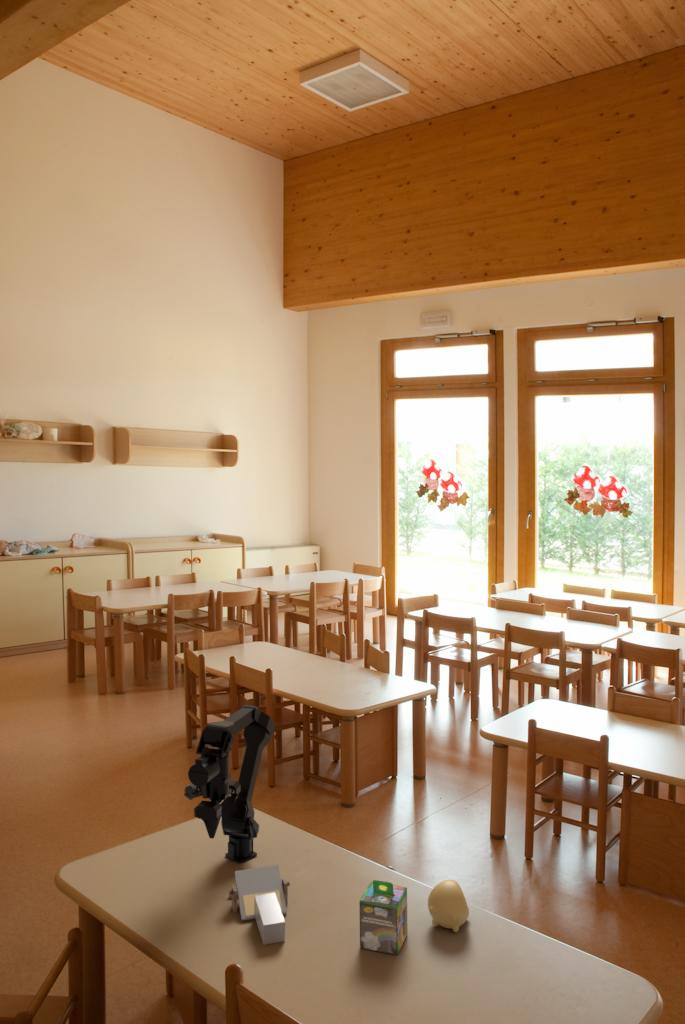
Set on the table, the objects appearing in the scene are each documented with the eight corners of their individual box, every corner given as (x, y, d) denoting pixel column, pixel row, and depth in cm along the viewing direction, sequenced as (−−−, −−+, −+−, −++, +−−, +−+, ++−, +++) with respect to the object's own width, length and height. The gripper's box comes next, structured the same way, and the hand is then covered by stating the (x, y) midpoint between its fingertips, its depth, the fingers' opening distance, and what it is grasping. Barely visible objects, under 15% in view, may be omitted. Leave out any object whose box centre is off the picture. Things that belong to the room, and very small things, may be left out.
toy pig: (468, 943, 198) (479, 899, 204) (459, 924, 190) (471, 879, 197) (429, 931, 202) (441, 888, 209) (418, 912, 194) (431, 868, 201)
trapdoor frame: (225, 896, 211) (225, 875, 211) (283, 888, 216) (283, 867, 215) (230, 913, 204) (230, 891, 203) (290, 904, 208) (290, 882, 208)
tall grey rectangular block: (254, 895, 200) (263, 925, 190) (274, 892, 202) (285, 921, 192) (254, 914, 201) (263, 944, 191) (274, 911, 203) (284, 941, 192)
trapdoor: (233, 879, 211) (234, 870, 209) (276, 872, 214) (278, 864, 212) (240, 926, 202) (242, 918, 200) (284, 919, 206) (287, 911, 203)
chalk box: (408, 934, 195) (408, 873, 194) (397, 956, 187) (398, 892, 186) (370, 926, 198) (370, 866, 197) (358, 948, 190) (358, 885, 189)
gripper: (202, 757, 229) (203, 812, 231) (174, 783, 211) (174, 843, 212) (241, 760, 227) (241, 816, 228) (215, 787, 209) (216, 847, 210)
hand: (218, 830), depth 220 cm, fingers open, 9 cm apart
